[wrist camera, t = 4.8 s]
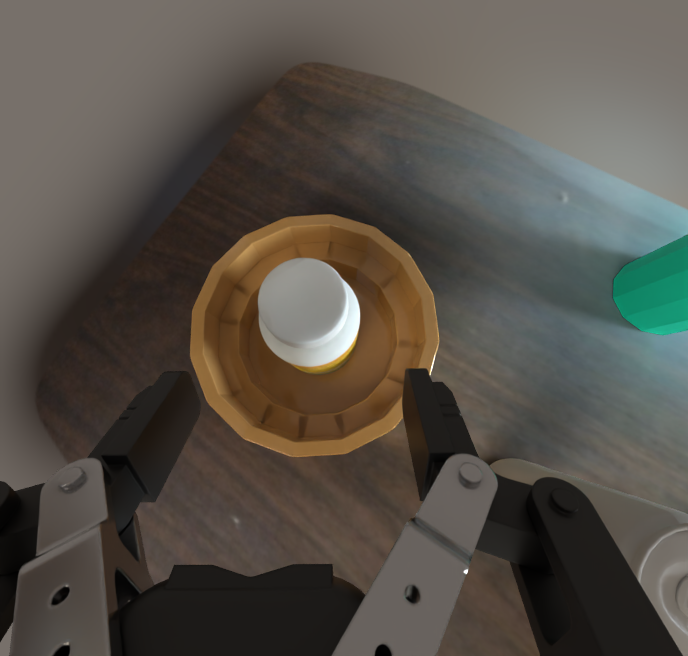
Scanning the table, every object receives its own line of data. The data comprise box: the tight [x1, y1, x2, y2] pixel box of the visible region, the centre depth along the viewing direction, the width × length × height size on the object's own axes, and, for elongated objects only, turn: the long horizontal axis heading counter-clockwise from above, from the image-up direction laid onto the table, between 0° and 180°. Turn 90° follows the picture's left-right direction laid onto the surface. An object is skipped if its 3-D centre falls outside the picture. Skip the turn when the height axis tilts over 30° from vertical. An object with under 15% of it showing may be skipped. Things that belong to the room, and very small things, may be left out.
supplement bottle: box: [258, 258, 360, 375], centre depth 19 cm, size 5×5×10 cm
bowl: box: [190, 214, 439, 457], centre depth 21 cm, size 15×15×5 cm
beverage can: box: [490, 458, 688, 656], centre depth 15 cm, size 5×5×12 cm
